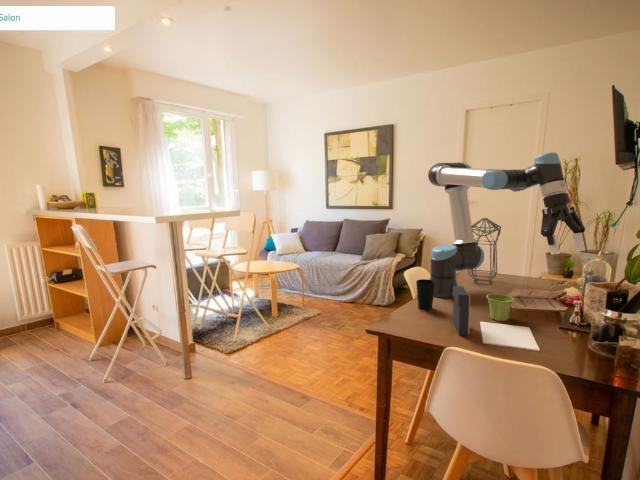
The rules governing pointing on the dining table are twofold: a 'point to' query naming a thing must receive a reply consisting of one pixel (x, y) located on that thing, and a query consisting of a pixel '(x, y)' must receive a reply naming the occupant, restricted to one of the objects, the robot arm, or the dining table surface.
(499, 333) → the felt mat
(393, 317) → the dining table surface
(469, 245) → the robot arm
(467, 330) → the dark navy block
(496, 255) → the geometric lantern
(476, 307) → the dining table surface
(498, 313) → the plant pot
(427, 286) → the cup
